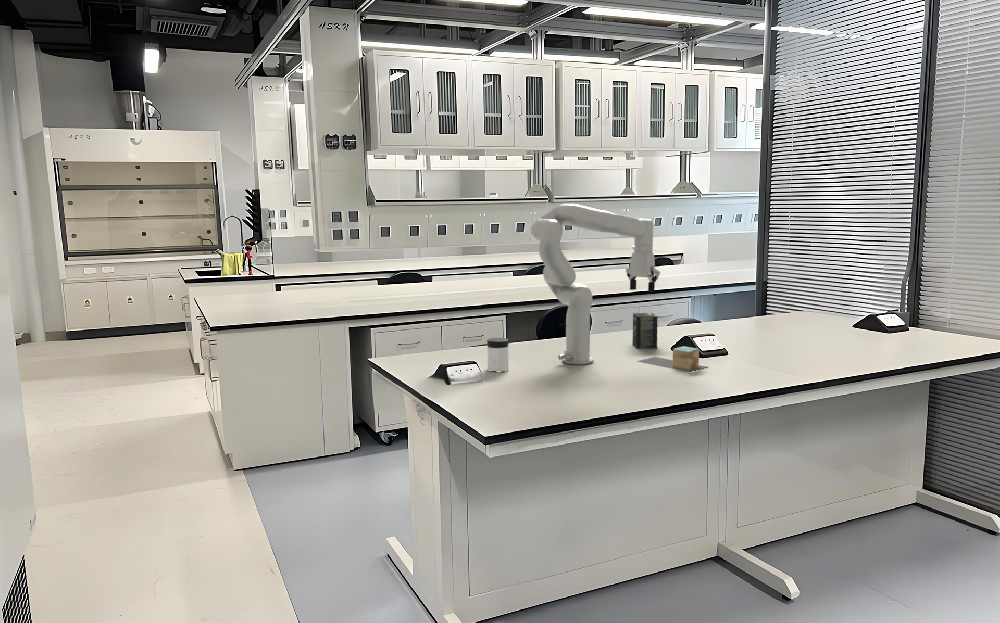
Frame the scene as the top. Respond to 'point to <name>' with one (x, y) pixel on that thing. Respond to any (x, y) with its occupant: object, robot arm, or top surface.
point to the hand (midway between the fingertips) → (641, 290)
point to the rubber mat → (667, 363)
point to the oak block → (685, 357)
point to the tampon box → (644, 330)
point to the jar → (497, 354)
